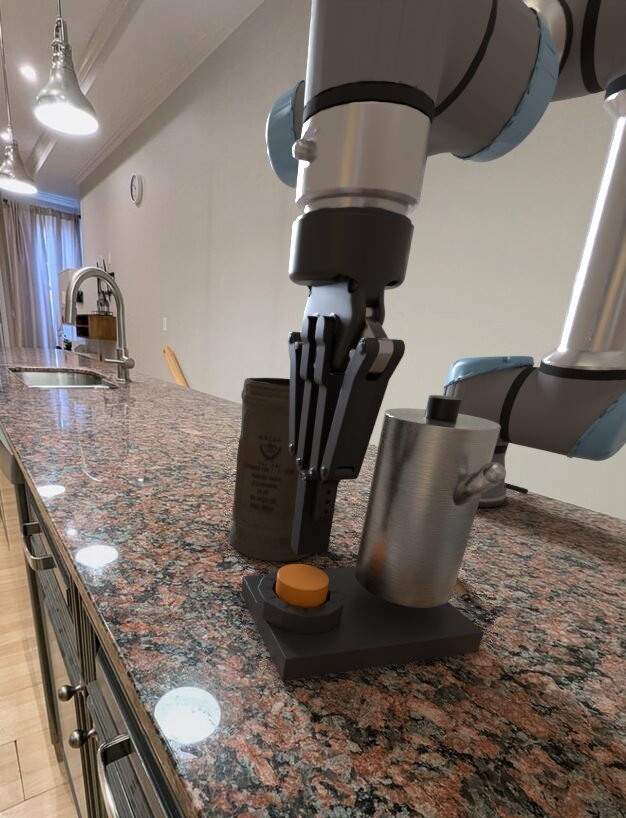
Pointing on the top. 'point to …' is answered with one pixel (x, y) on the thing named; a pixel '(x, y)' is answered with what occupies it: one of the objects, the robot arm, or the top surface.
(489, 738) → the top surface
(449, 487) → the kettle
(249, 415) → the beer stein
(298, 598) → the kettle button
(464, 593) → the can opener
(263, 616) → the kettle base
